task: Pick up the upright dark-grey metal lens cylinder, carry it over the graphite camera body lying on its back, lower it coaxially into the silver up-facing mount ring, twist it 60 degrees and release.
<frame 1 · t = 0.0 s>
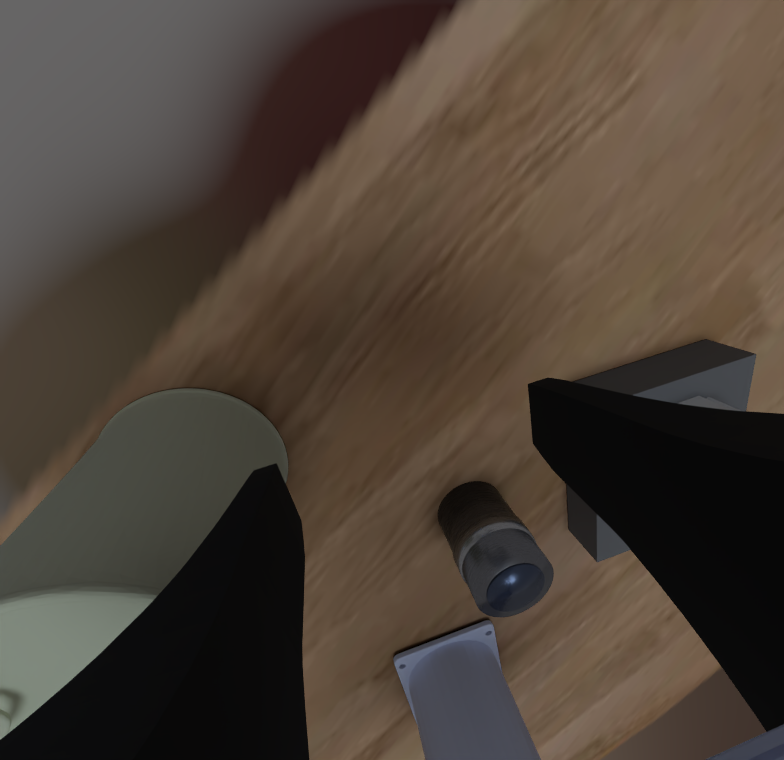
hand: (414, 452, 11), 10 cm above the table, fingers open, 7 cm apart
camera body: (632, 441, 27), on the table
lens: (469, 509, 26), on the table
can: (198, 465, 21), on the table
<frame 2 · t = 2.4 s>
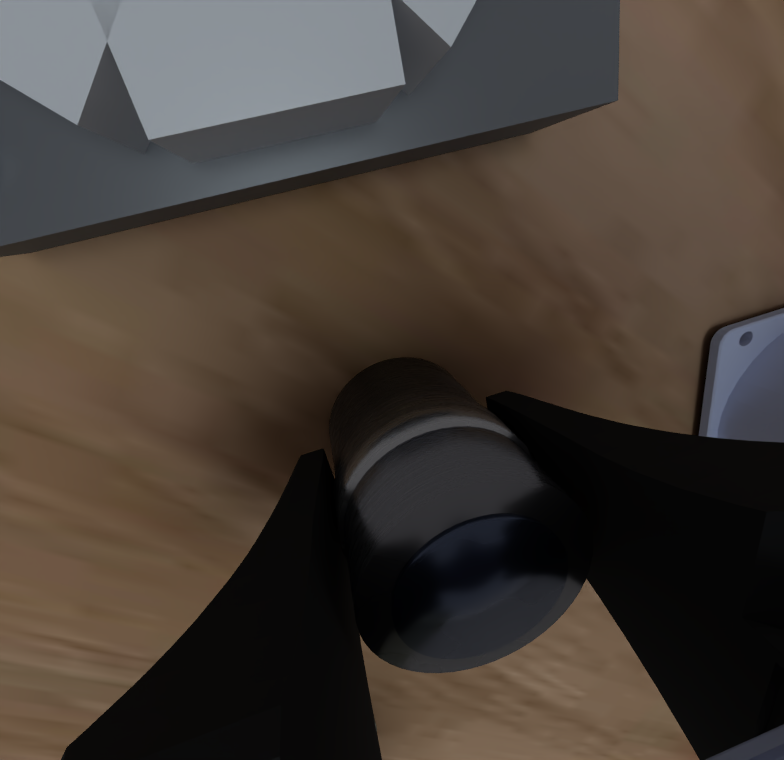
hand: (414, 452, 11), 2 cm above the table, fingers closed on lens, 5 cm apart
lens: (400, 424, 12), on the table, touching gripper
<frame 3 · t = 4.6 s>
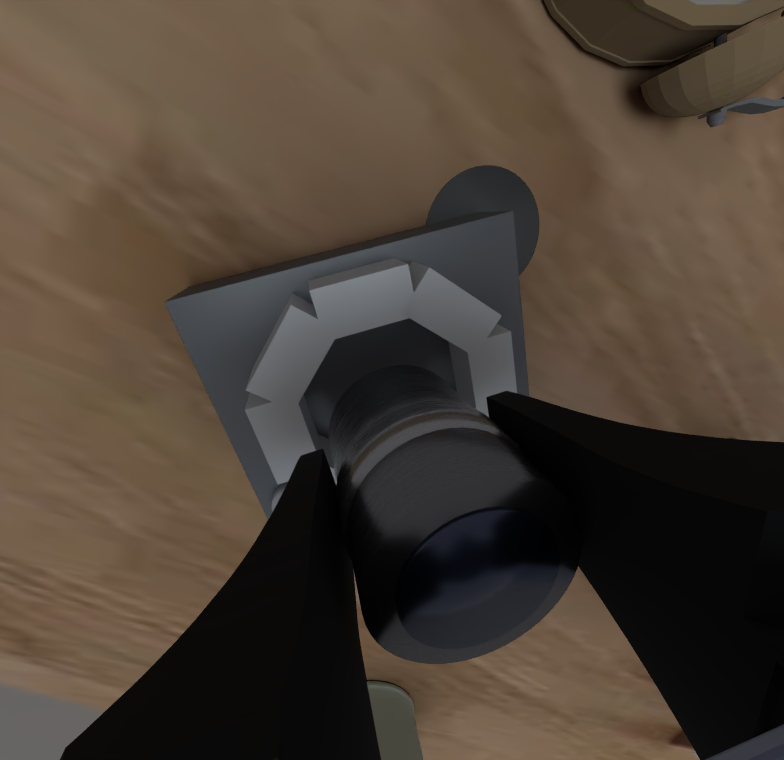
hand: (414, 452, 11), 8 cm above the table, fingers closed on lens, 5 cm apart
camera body: (369, 360, 18), on the table
lens: (396, 429, 13), point 6 cm above the table, touching gripper
lens cap: (476, 233, 17), on the table, touching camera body
can: (350, 720, 28), on the table
when the fingers open (6 cm above the table, at t = 6.6 s): lens stays where it is, resting on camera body.
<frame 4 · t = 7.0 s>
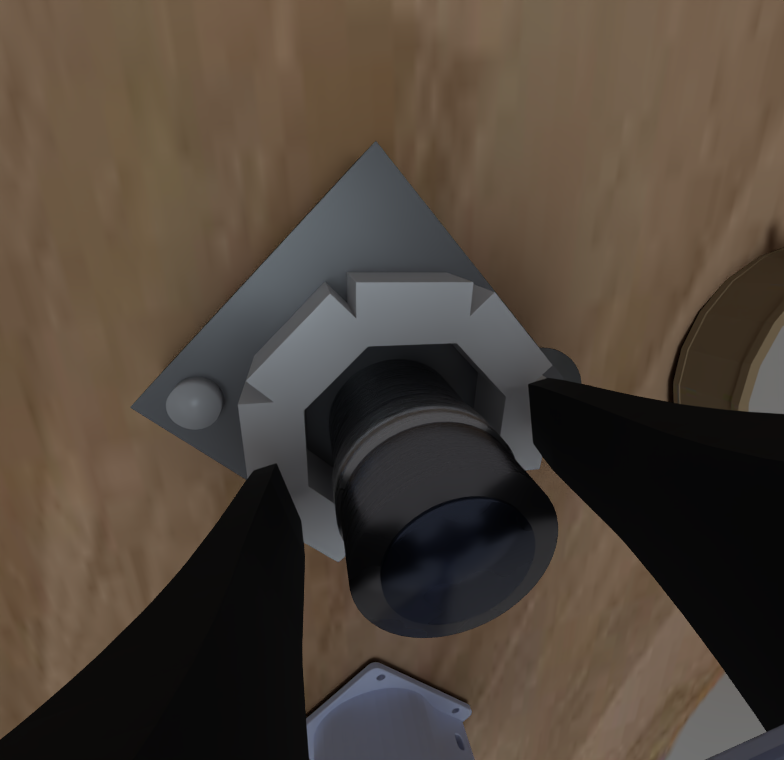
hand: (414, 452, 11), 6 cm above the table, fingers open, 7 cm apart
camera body: (377, 377, 16), on the table
lens: (394, 420, 13), point 3 cm above the table, touching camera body
lens cap: (521, 395, 19), on the table, touching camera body
alarm clock: (737, 384, 21), on the table
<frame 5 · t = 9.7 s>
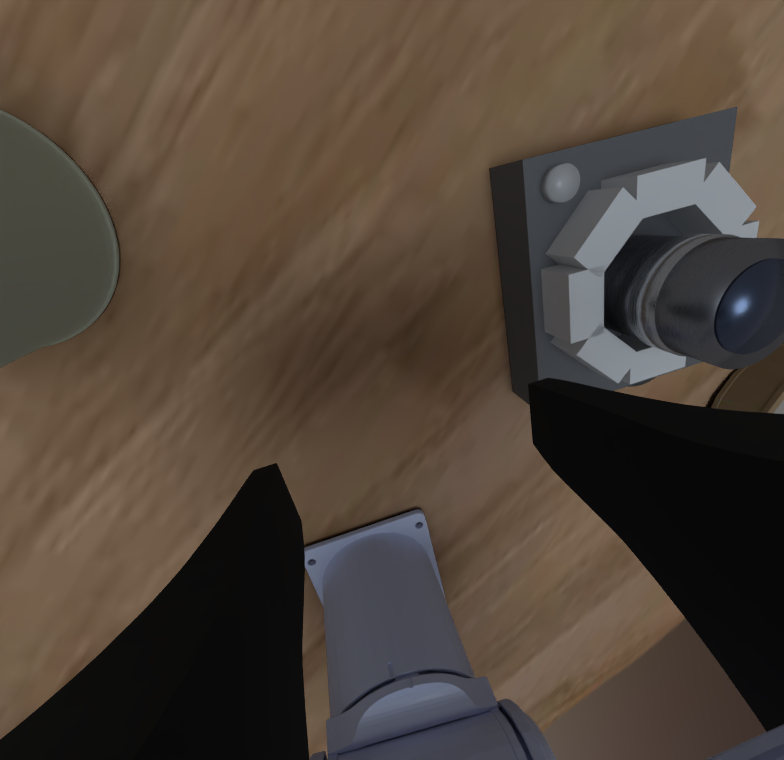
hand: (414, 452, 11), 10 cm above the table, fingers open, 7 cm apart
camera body: (587, 269, 21), on the table
lens: (624, 283, 19), point 3 cm above the table, touching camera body
alarm clock: (736, 428, 29), on the table
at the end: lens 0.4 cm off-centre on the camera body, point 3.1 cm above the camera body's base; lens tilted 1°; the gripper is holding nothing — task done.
